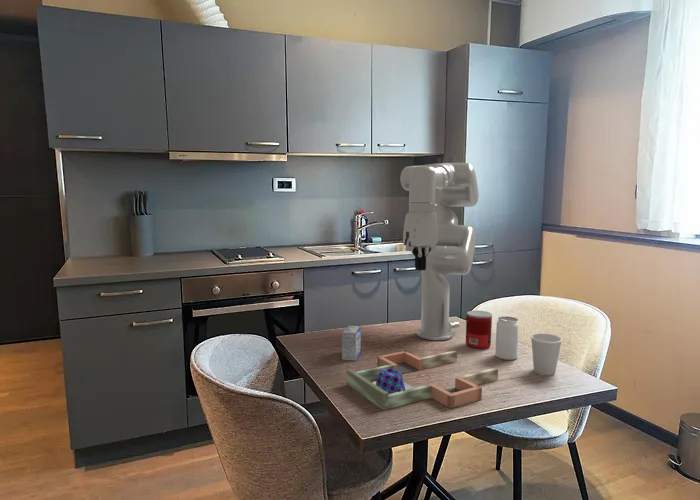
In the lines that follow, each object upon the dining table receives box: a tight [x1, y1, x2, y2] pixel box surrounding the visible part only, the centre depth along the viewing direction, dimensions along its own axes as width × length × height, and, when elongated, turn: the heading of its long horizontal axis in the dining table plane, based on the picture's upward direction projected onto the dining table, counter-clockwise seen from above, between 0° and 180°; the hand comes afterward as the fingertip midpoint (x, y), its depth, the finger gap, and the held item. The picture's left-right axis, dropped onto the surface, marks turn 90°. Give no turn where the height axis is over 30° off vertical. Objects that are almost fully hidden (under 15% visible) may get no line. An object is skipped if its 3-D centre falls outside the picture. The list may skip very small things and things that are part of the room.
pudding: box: [371, 369, 414, 394], centre depth 128 cm, size 12×12×5 cm
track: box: [346, 350, 499, 411], centre depth 134 cm, size 37×17×4 cm, turn 120°
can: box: [494, 316, 520, 361], centre depth 153 cm, size 6×6×12 cm
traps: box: [376, 350, 483, 409], centre depth 134 cm, size 10×31×3 cm, turn 30°
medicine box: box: [341, 325, 362, 362], centre depth 153 cm, size 8×4×9 cm, turn 168°
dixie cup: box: [530, 332, 563, 376], centre depth 141 cm, size 8×8×10 cm
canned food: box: [465, 310, 493, 350], centre depth 163 cm, size 8×8×11 cm
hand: (420, 269), depth 151 cm, fingers closed
